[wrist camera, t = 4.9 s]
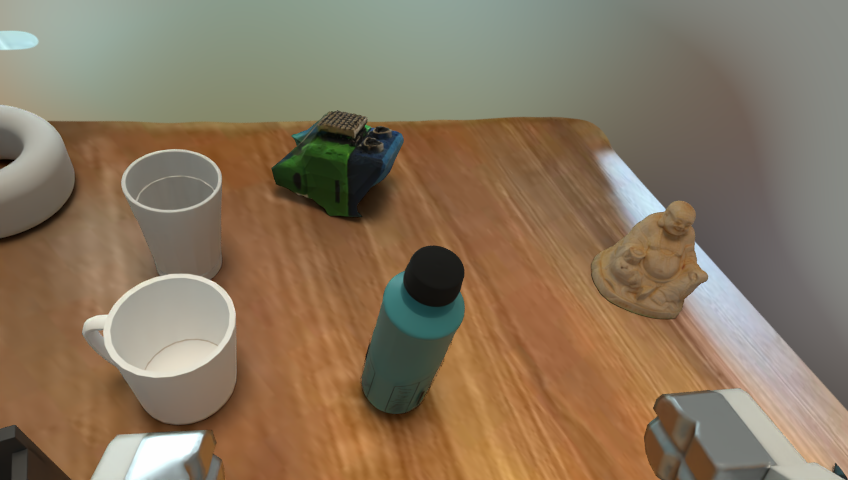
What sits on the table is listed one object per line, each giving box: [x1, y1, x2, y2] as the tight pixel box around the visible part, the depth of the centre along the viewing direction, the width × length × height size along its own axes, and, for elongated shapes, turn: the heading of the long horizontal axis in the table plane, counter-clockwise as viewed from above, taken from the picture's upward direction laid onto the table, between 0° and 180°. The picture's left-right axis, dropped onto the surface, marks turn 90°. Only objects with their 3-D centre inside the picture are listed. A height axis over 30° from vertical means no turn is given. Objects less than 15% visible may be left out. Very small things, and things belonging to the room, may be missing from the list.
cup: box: [121, 149, 222, 280], centre depth 49 cm, size 8×8×12 cm
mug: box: [82, 274, 237, 425], centre depth 42 cm, size 11×9×10 cm
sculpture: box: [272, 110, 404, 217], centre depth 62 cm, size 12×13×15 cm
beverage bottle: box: [361, 246, 465, 414], centre depth 42 cm, size 6×7×20 cm
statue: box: [591, 201, 708, 319], centre depth 63 cm, size 12×14×10 cm
